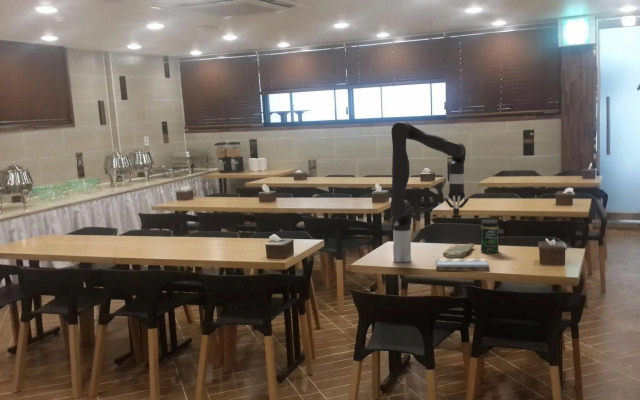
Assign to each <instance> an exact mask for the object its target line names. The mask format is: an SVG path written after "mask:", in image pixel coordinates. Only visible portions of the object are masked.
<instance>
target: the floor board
mask: <svg viewBox="0 0 640 400" xmlns="http://www.w3.org/2000/svg"><path fill="white" fill-rule="evenodd" d="M437 261H466V262H487V263H488V260H487V259H486V258H436V260H435V270H436V271H453V272H455V271H456V272H457V271H458V272H459V271H460V272H461V271H463V272H465V271H468V272H469V271H479V272H482V271H485V272H486V271H488V272H489V271H490V266H489V265H488V267H437Z"/></svg>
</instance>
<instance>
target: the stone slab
mask: <svg viewBox="0 0 640 400" xmlns="http://www.w3.org/2000/svg"><path fill="white" fill-rule="evenodd" d="M474 246H475V243H465V244H462V243H461V244H460V243H457V244H455V245H454V246H451V247H449V248H448V249H446V250H444V251H443V253H442V256H443V257H445V258H446V259H463V258H465V257H466V256H467V254H469V253H470V252H471V250H472V249H473V248H474Z"/></svg>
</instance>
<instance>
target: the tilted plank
mask: <svg viewBox="0 0 640 400" xmlns="http://www.w3.org/2000/svg"><path fill="white" fill-rule="evenodd" d="M436 261H437V260H436ZM488 266H489V263H488V261H487V262H466V261H437V267H488Z"/></svg>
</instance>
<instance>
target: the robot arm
mask: <svg viewBox="0 0 640 400" xmlns="http://www.w3.org/2000/svg"><path fill="white" fill-rule="evenodd" d="M407 140H411V141H416V142H418V143H420V144H422V145H423V146H426V147H427V148H430V149H432V150H435V151H437V152H441V153H443V154H445V155H447V156H449V157H451V163H450V165H449V176H448V177H449V179H448V184H449V186H448V193H447V196H445V197H444V199H443V200H444V201H445V203H446V204H447V205H448V206H449V208H452V209H453V210H452V211H453V213H452V215H454V217H458V215H459V214H460V209H461V208H464V206H465V205H466V204H467V203H468V201H470V199H469V197H467V196H466V194H465V161H466V153H467V151H466V149H467V148H466V146H465V145H464V144H463V143H461V142H459V143H456V142H451V141H449V140H448V139H447V138H445V137H442V136H438V135H436V134H432V133H430V132H426V131H424V130H422V129H420V128H418V127H415V126H414V125H413V124H410V123H409V122H406V121H398V122H395V123H394V124H393V125H392V126H391V144H392V158H391V159H392V162H391V164H392V165H391V199H390V213H391V216H392V217H393V218H395V220H394V221H395V222H394V223H393V225H392V233H393V234H392V235H393V236H392V237H393V244H392V245H393V246H392V247H393V249H392V250H393V253H392V254H393V263H395V262H396V263H410V262H412V248H411V247H412V246H411V245H412V244H411V243H412V242H411V225H412V223H413V222H412V221H413V220H412V218H413V215H412V213H413V212H412V205H411V203H410V202H409V201H408V200H407V199H405V194H406V189H407V186H408V182H409V179H410V161H409V157H408V153H407ZM450 200H451V202H452V203H451V202H450ZM462 201H463V202H462ZM461 202H462V203H461ZM460 203H461V204H460Z"/></svg>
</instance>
